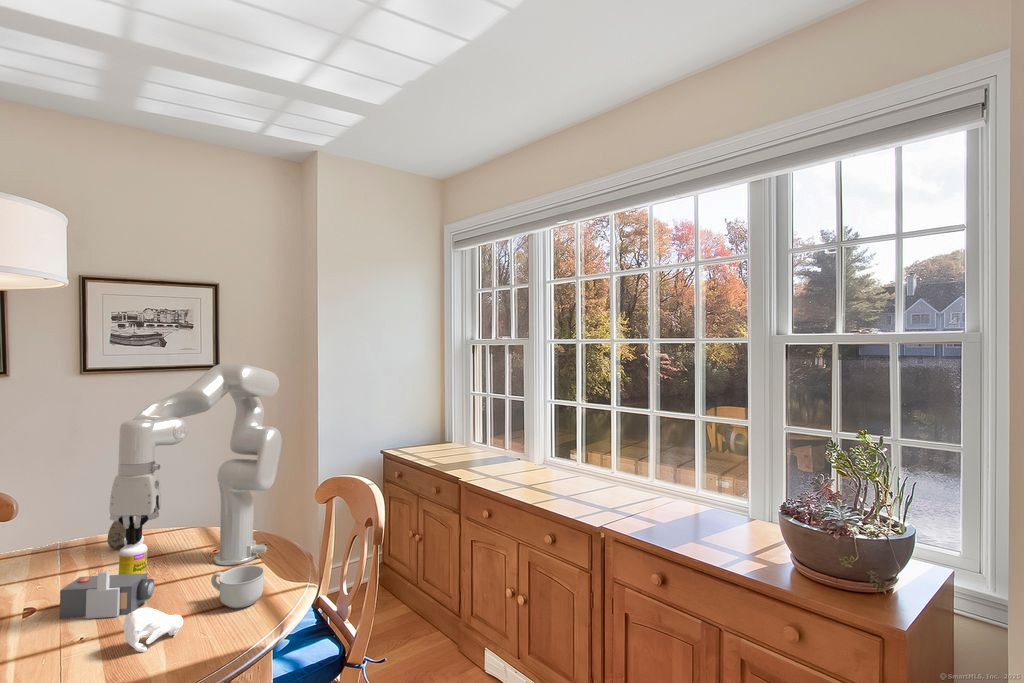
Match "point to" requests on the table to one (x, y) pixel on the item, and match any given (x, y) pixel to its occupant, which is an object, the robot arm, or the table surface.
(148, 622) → the white figurine
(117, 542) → the decorative egg
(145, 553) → the supplement bottle
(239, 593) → the teacup
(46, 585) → the table surface
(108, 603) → the grey t-shaped piece
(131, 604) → the camera body
